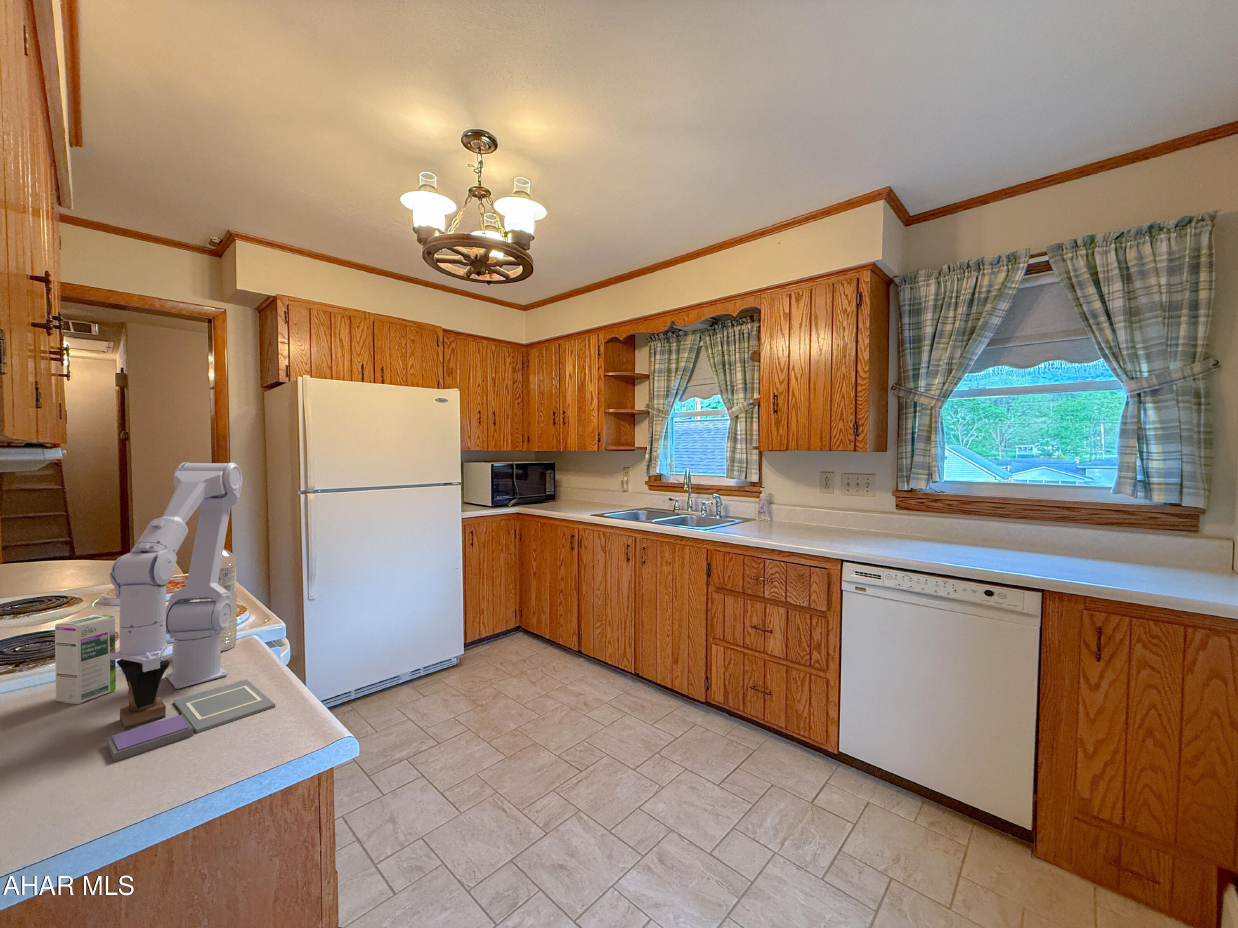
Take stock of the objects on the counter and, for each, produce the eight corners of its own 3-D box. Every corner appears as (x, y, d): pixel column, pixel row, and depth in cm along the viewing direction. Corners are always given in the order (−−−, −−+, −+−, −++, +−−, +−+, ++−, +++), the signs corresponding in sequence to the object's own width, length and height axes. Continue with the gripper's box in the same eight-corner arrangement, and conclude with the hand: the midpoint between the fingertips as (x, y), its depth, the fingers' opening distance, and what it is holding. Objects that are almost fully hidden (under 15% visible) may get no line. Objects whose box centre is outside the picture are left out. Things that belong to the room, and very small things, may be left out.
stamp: (119, 719, 84) (119, 678, 84) (159, 707, 88) (159, 668, 88) (124, 729, 81) (124, 686, 81) (165, 717, 85) (165, 676, 85)
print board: (173, 702, 90) (173, 699, 90) (246, 681, 98) (246, 678, 98) (196, 732, 80) (196, 729, 80) (275, 706, 89) (275, 703, 89)
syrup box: (78, 705, 88) (78, 624, 88) (53, 701, 90) (54, 622, 90) (116, 690, 94) (117, 615, 94) (92, 687, 95) (93, 613, 95)
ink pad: (106, 744, 76) (106, 735, 76) (182, 720, 83) (182, 712, 83) (113, 761, 72) (113, 752, 72) (193, 735, 79) (193, 726, 79)
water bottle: (196, 649, 115) (196, 542, 115) (232, 641, 120) (233, 539, 120) (202, 656, 111) (203, 546, 111) (239, 648, 116) (240, 542, 116)
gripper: (103, 619, 85) (102, 697, 85) (117, 638, 77) (116, 725, 77) (158, 610, 91) (157, 682, 91) (176, 626, 82) (176, 707, 82)
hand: (142, 701), depth 84 cm, fingers closed on stamp, 3 cm apart
